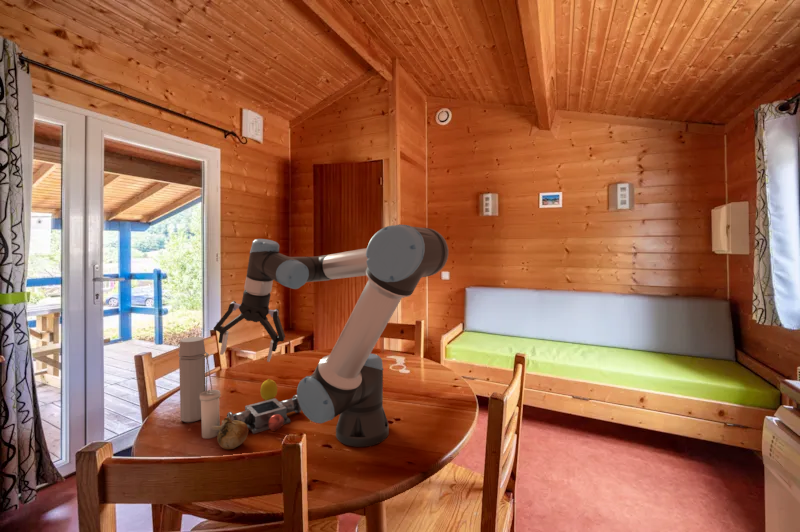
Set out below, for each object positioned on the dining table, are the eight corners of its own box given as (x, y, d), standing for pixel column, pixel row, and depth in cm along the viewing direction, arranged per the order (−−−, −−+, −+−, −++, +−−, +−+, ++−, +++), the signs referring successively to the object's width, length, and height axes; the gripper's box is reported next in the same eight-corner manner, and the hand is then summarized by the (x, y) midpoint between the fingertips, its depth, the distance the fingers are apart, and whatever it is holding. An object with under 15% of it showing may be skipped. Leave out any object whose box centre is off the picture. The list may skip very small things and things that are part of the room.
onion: (235, 456, 93) (234, 425, 93) (209, 451, 96) (209, 421, 95) (254, 441, 101) (254, 413, 100) (230, 437, 103) (229, 409, 102)
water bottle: (176, 425, 109) (174, 343, 108) (184, 414, 117) (182, 337, 116) (210, 421, 112) (208, 341, 111) (215, 410, 120) (214, 335, 118)
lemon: (271, 405, 124) (271, 382, 123) (257, 404, 125) (256, 381, 124) (280, 399, 129) (280, 376, 129) (266, 397, 130) (265, 375, 130)
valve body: (310, 421, 112) (309, 403, 112) (238, 444, 99) (238, 424, 99) (291, 406, 123) (291, 389, 123) (224, 424, 110) (224, 406, 110)
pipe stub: (223, 435, 104) (222, 393, 103) (202, 441, 101) (201, 398, 100) (218, 428, 108) (217, 388, 108) (198, 433, 105) (197, 392, 104)
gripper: (301, 295, 113) (289, 356, 117) (217, 279, 109) (207, 344, 113) (298, 303, 106) (285, 368, 110) (208, 286, 101) (197, 355, 106)
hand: (246, 356), depth 111 cm, fingers open, 13 cm apart
